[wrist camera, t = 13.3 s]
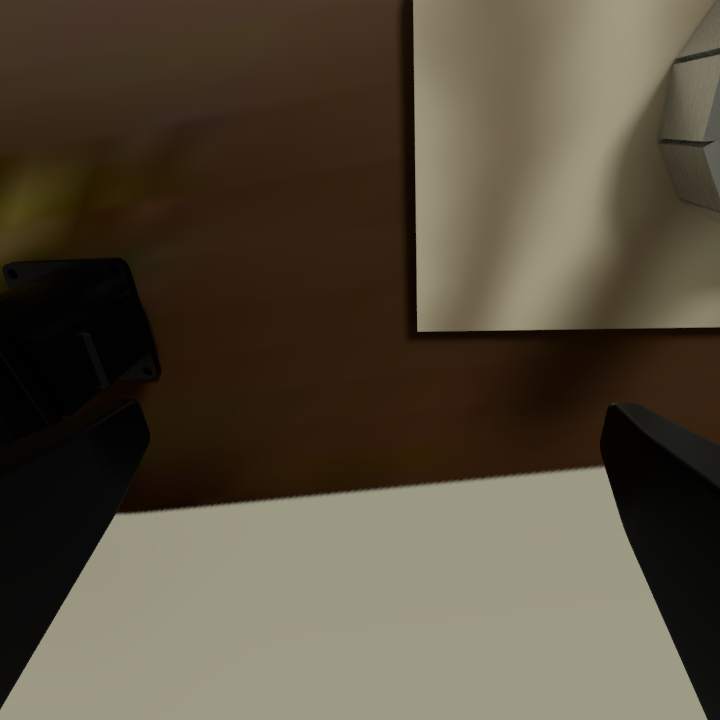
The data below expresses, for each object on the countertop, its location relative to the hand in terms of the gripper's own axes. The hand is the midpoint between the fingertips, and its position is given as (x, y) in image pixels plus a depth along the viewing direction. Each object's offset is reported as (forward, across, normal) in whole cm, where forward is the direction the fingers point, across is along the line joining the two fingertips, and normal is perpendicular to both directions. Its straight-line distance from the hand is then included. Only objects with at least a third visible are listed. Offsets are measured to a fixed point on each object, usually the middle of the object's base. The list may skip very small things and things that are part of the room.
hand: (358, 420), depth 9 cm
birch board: (+13, -10, -3) cm, 17 cm away
